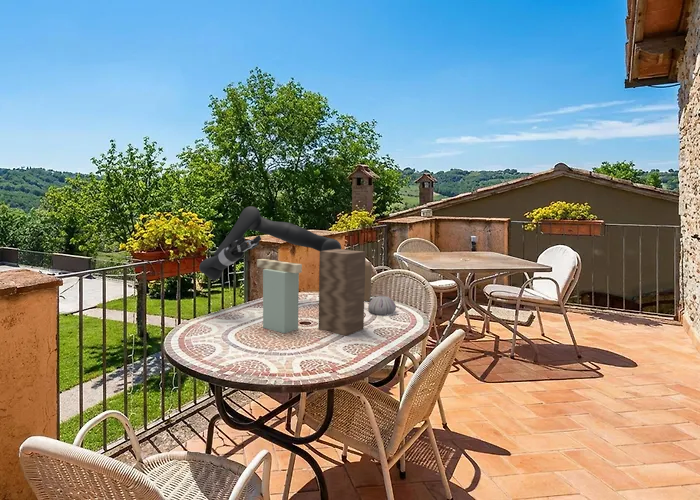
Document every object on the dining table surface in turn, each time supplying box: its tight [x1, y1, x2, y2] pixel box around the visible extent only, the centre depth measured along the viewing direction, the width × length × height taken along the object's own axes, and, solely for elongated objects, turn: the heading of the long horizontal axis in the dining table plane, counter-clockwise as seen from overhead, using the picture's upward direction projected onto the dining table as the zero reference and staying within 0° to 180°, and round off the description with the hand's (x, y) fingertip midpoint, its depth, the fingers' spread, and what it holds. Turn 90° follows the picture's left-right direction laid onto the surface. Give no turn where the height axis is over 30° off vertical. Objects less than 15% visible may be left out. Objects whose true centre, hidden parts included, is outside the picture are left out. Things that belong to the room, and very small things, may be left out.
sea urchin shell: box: [367, 295, 397, 316], centre depth 209 cm, size 13×14×8 cm
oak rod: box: [256, 258, 303, 274], centre depth 178 cm, size 22×3×3 cm, turn 54°
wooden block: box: [364, 261, 373, 302], centre depth 235 cm, size 10×10×20 cm
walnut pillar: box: [317, 248, 367, 337], centre depth 179 cm, size 14×12×32 cm
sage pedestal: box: [262, 268, 300, 334], centre depth 179 cm, size 12×8×24 cm, turn 54°
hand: (252, 238), depth 186 cm, fingers open, 8 cm apart
